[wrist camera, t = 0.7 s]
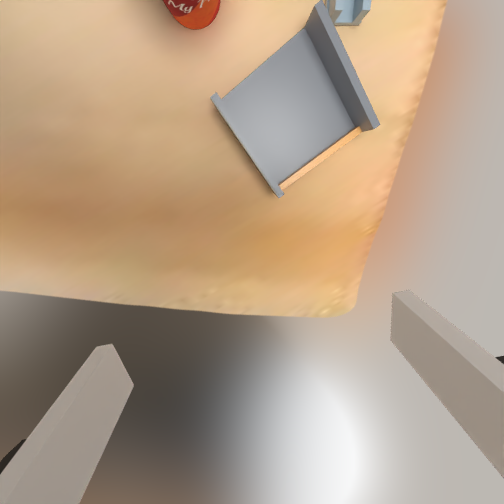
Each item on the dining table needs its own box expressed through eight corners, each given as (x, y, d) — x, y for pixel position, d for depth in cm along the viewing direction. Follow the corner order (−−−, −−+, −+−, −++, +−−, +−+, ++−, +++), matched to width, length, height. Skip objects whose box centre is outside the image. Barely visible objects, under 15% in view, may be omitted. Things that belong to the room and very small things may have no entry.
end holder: (215, 106, 30) (210, 97, 25) (308, 25, 27) (321, -1, 23) (274, 193, 34) (279, 198, 29) (360, 129, 31) (380, 124, 27)
